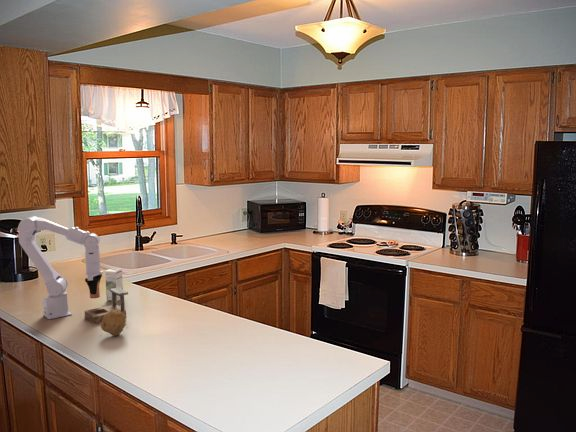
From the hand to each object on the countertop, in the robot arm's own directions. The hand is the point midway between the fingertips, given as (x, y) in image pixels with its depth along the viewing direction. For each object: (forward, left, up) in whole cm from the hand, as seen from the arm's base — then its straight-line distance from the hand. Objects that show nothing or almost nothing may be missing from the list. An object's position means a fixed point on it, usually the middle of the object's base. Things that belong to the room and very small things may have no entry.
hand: (94, 292), depth 225 cm
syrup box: (+14, +13, -9) cm, 21 cm away
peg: (0, 0, -2) cm, 2 cm away
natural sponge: (-5, -33, -9) cm, 34 cm away
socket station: (+2, -9, -9) cm, 13 cm away
